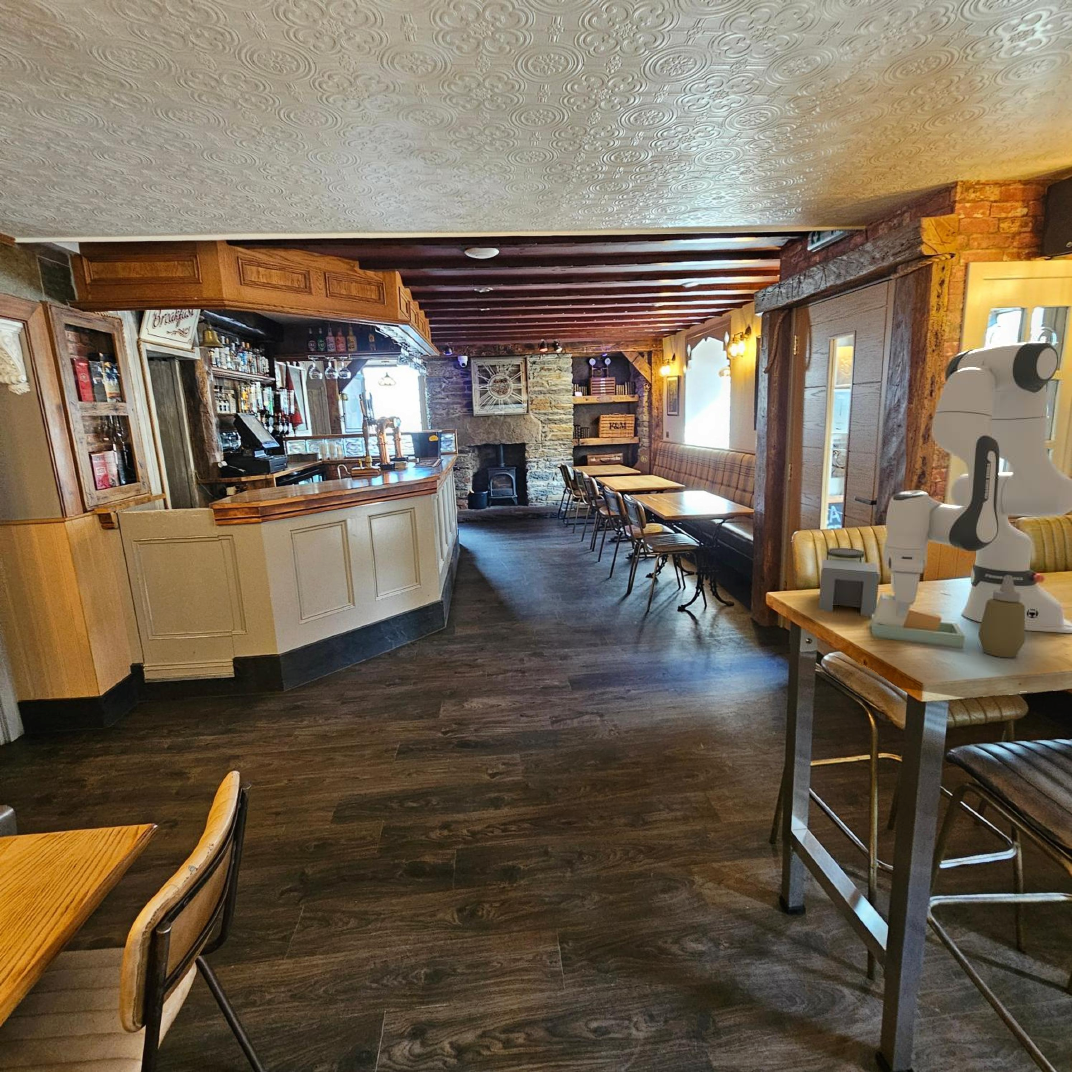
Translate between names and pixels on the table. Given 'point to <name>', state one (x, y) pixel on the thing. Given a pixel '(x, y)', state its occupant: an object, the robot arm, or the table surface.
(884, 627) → the tray
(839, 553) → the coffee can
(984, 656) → the table surface
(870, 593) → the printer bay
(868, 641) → the table surface
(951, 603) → the table surface
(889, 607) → the two-tone block
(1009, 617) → the squeeze bottle
